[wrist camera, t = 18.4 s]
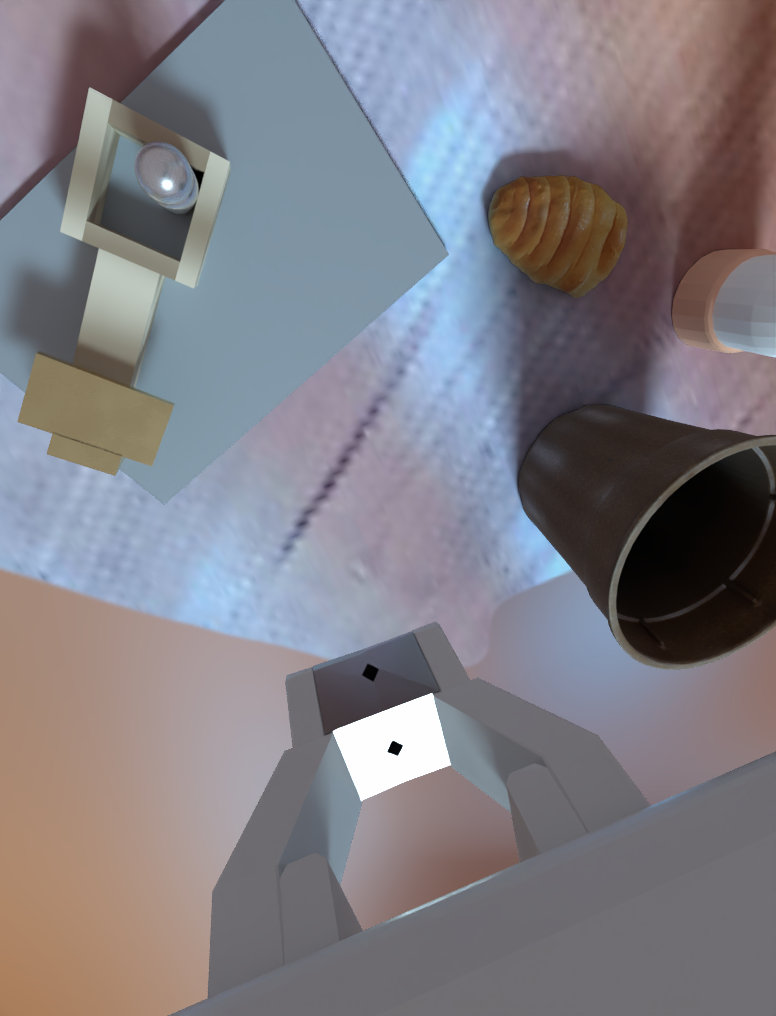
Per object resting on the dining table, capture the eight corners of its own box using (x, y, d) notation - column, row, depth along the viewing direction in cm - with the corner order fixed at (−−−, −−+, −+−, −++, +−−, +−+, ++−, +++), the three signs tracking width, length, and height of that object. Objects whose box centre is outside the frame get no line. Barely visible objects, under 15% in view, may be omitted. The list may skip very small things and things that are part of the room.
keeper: (64, 339, 31) (35, 353, 27) (182, 387, 34) (173, 405, 30) (41, 418, 33) (11, 443, 28) (156, 457, 36) (145, 485, 31)
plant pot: (465, 538, 45) (568, 664, 31) (536, 354, 40) (701, 407, 26) (609, 561, 51) (752, 676, 37) (689, 403, 45) (893, 468, 31)
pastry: (467, 261, 36) (491, 261, 32) (501, 150, 33) (530, 137, 30) (576, 300, 39) (608, 304, 35) (614, 201, 36) (652, 195, 33)
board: (267, -37, 27) (268, -43, 26) (445, 254, 35) (448, 254, 34) (-80, 303, 29) (-85, 304, 28) (165, 501, 37) (164, 504, 36)
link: (103, 103, 27) (89, 87, 24) (230, 170, 29) (230, 161, 27) (43, 388, 32) (26, 400, 29) (157, 424, 34) (150, 438, 31)
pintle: (178, 156, 28) (158, 121, 21) (211, 197, 30) (203, 177, 22) (147, 186, 29) (116, 162, 22) (180, 225, 30) (162, 215, 23)
